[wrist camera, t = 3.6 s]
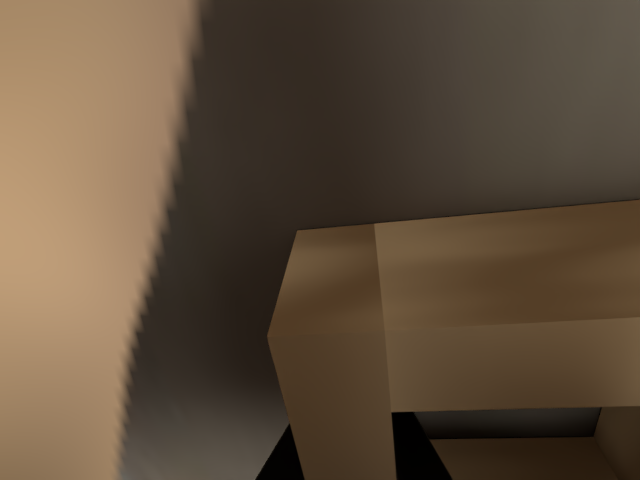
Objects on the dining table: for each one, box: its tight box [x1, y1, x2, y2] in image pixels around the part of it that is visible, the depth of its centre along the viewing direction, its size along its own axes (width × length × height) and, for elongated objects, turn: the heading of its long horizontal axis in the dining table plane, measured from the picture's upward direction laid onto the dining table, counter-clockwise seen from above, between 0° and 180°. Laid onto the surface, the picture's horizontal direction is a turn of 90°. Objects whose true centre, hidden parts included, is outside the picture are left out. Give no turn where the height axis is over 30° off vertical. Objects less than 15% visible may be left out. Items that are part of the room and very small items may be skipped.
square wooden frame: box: [267, 200, 640, 480], centre depth 8 cm, size 8×8×3 cm
